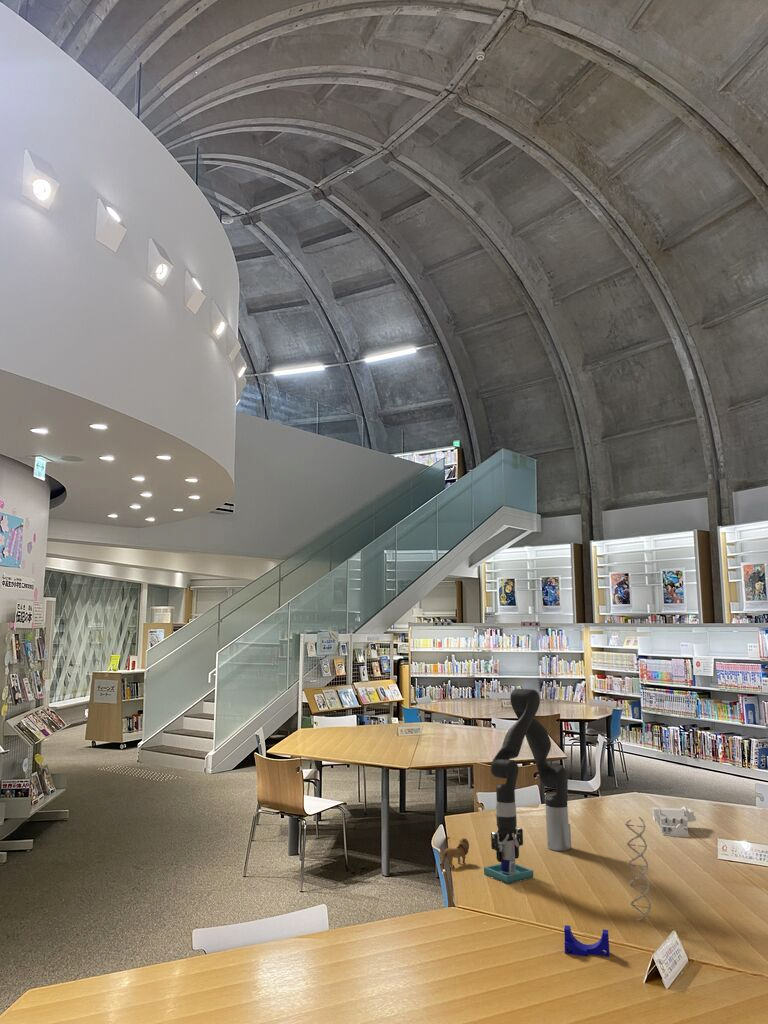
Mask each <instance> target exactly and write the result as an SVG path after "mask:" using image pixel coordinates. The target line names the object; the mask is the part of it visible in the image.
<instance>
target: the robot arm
mask: <svg viewBox="0 0 768 1024" xmlns="http://www.w3.org/2000/svg"><path fill="white" fill-rule="evenodd" d="M509 696H510V697H509V698H510V705H511V707H512V710H513V712H514V713H515V716H516V717H517V719H518V720H517V721H516V722H514V724H513V725H512V726H511V727H510V728H509V729H508V730H507V731H506V734H505V736H504V739H503V742H502V746H501V747H500V749H499V750H498V752H497V753H496V754H495V756H494V757H493V759H492V760H491V765H490V772H491V774H492V776H494V777H495V778H500V779H506V782H505V783H502V784H498V785H496V788H495V793H496V794H495V795H496V802H495V803H496V806H495V810H496V811H495V812H496V816H495V817H496V827H497V832H491V833H490V841H491V842H490V843H491V844H490V845H491V850H494V851H495V852H496V860H497V862H498V863H501V862H503V857H502V849H503V847H504V846H505V844H506V841H511V840H514V846H515V860H516V859H519V858H520V847H521V846H523V845H524V833H523V828H520V827H517V826H518V825H517V823H518V822H517V806H516V793H515V792H516V791H515V790H516V784H517V780H518V777H519V776H518V775H519V769H520V768H519V765H518V762H517V761H515V760H514V759H515V758H518V757H519V754H520V752H521V748H522V746H523V743H524V740H525V739H526V741H527V744H528V746H529V748H530V749H529V750H530V751H531V754H532V756H533V758H534V762H535V765H536V769H537V774H538V777H539V780H540V782H541V784H542V786H543V787H545V788H547V789H554V790H556V793H555V794H553V795H549V796H547V797H545V800H544V802H545V803H544V804H545V822H546V825H545V826H546V840H547V842H546V843H547V849H549V850H552V851H555V852H556V851H557V852H564V851H565V852H566V851H569V850H570V849H572V835H571V824H570V823H569V811H568V806H569V805H568V801H569V800H568V798H569V794H568V793H569V790H568V788H569V787H568V784H569V783H568V779H569V778H568V772H567V769H566V768H565V767H563V766H556V765H550V764H549V763H548V761H547V758H548V755H549V753H550V751H551V747H552V743H551V742H552V741H551V739H550V738H551V737H549V733H548V731H547V730H546V728H545V726H544V725H543V724H542V723H541V722H539V720H537V719H536V718H535V717H536V715H537V712H538V710H539V707H540V702H541V697H540V694H539V692H538V691H537V690H536V689H530V688H516V689H513V690H512V691H511V692H510V695H509ZM501 841H503V842H501Z"/></svg>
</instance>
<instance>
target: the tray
mask: <svg viewBox="0 0 768 1024" xmlns="http://www.w3.org/2000/svg"><path fill="white" fill-rule="evenodd" d="M515 866H516V873H515V874H511V875H505V874H502V872H501V863H498V864H492V865H488V866H484V867H483V874H486V875H485V876H487V875H488V876H487V877H489V876H490V878H491V877H493V878H492V879H494V878H495V879H494V880H496V879H497V881H498V880H499V881H498V882H501V881H502V882H501V883H503V882H504V883H503V884H505V885H508V883H509V884H513V883H512V882H514V883H517V882H516V881H518V882H521V881H520V880H522V881H526V880H529V878H530V879H533V877H534V870H533V869H530V868H528V867H525V866H523V865H519V864H517V863H515ZM525 879H526V880H525Z"/></svg>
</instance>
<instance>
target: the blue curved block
mask: <svg viewBox="0 0 768 1024" xmlns="http://www.w3.org/2000/svg"><path fill="white" fill-rule="evenodd" d="M563 931H564V933H563V934H564V942H563V943H564V954H566V955H572V956H573V955H574V956H581V957H582V956H583V957H588V955H593V956H601V957H609V958H610V940H609V930H608V929H602V933H601V937H600V939H599V940H598V941H597V942H595V943H593V944H585V943H583V942H580V941H579V940H578V939H577V938H576V937H575V936H574V934H573V932H572V929H571V925H566V924H565V925H564V928H563Z"/></svg>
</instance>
